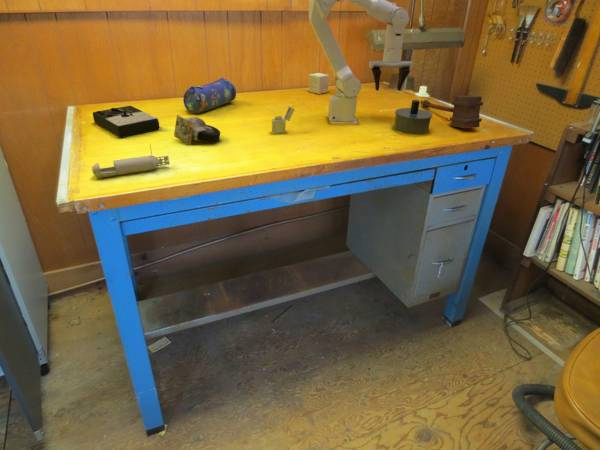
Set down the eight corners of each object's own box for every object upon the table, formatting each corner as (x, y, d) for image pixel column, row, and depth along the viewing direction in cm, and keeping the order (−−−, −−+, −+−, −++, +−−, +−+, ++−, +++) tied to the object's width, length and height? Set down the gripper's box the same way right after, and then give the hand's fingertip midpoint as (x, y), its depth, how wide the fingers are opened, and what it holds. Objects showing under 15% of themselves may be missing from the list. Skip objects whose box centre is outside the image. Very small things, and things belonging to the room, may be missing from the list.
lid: (400, 121, 133) (402, 105, 130) (390, 110, 143) (393, 95, 140) (437, 122, 134) (440, 106, 131) (425, 111, 144) (428, 96, 141)
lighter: (273, 134, 133) (273, 109, 129) (271, 132, 134) (271, 107, 130) (294, 132, 135) (294, 107, 131) (292, 130, 137) (292, 105, 132)
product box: (328, 92, 182) (329, 74, 178) (319, 94, 178) (320, 76, 175) (317, 89, 186) (318, 72, 182) (308, 91, 182) (309, 74, 178)
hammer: (464, 128, 139) (467, 97, 136) (412, 119, 169) (414, 93, 165) (481, 127, 141) (485, 96, 137) (427, 118, 170) (429, 92, 167)
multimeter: (132, 115, 144) (130, 101, 142) (160, 129, 133) (158, 114, 130) (93, 123, 136) (90, 107, 134) (120, 138, 125) (116, 122, 122)
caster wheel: (223, 147, 128) (200, 152, 120) (195, 132, 132) (172, 136, 124) (227, 126, 125) (204, 130, 117) (199, 112, 129) (175, 114, 121)
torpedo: (95, 182, 99) (88, 156, 96) (93, 174, 103) (87, 149, 99) (171, 169, 107) (168, 145, 103) (167, 163, 110) (164, 139, 107)
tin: (398, 135, 136) (401, 119, 133) (390, 125, 145) (392, 109, 142) (432, 136, 136) (435, 119, 134) (421, 125, 146) (424, 109, 143)
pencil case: (200, 116, 146) (197, 88, 141) (181, 112, 149) (178, 85, 144) (238, 103, 162) (237, 77, 158) (220, 99, 166) (219, 74, 161)
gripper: (373, 49, 134) (369, 92, 141) (418, 49, 135) (411, 92, 142) (369, 46, 140) (365, 87, 147) (412, 46, 141) (406, 87, 148)
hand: (387, 89), depth 145 cm, fingers open, 7 cm apart
